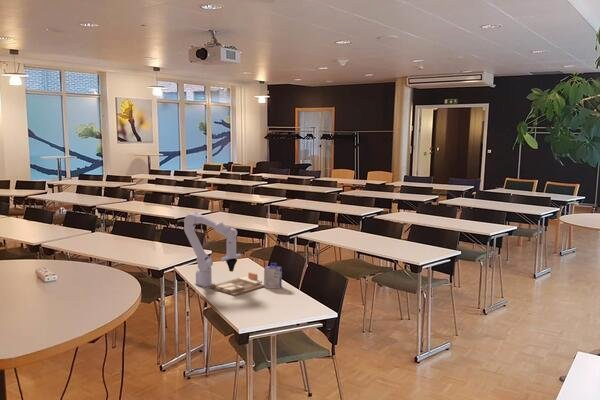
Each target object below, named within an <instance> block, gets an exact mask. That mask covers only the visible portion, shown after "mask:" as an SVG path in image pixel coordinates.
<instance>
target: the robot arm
mask: <svg viewBox="0 0 600 400" xmlns="http://www.w3.org/2000/svg"><path fill="white" fill-rule="evenodd" d="M183 223H184V224H183V225H184V227H183V230H184V234H185V235H186V237H187V239H188V241H189V244H190V246H191V247H192V250H193V252H194V255H195V256H196V264H197V268H198V269H197V270H196V272H195V282H194V285H197V286H200V287H203V288H206V287H209V286H213V285H216V284H215V283H214V282H212V278H213V277H212V266H213V265H214V261H213V260H212V258H211V257H210V256H209V254H207V253H206V252H205V250H204V248H203V246H202V244H201V241H200V239H199V237H198V236H197V233H196V231H195V228H196V225H199V224H202V225H205V226H208V227H210V228H213V229H214V231H215V233H218V234H220V235H223V236H225V238H226V255H225V256H222V257H221V258H220V261H221V262H225V263H226V264H227V267H228V271H229V272H234V270H235V266H236V264H237V262H238V259H239V258H242V254H241V253H237V235H238V230H237V229H236V228H235V227H231V226H228V225H225V224H224V222H215V221H213V220H212V219H209V218H208V217H206V216H204V215H203V214H201V213H198V212H196V211H195V212H192V213H190V214H187V215H185V217H184V219H183Z"/></svg>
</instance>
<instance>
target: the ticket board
mask: <svg viewBox="0 0 600 400" xmlns="http://www.w3.org/2000/svg"><path fill="white" fill-rule="evenodd" d="M239 278H240V277H237V278H234V279H230V280H228V281H224V282H220V283H217V284H214V285H210V286H208V287H209V289H211V290H214V291H217V292H220V293H222V294H227V295H230V296H233V297H238V296H241V295H244V294H247V293H249V292H253V291H256V290H258V289H261V288H264V284H262V283H260V284H257V285H254V284H250V283H247V282H243V281H240V280H239Z"/></svg>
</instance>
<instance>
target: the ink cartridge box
mask: <svg viewBox="0 0 600 400" xmlns="http://www.w3.org/2000/svg"><path fill="white" fill-rule="evenodd" d="M282 268H283V267H282V266H277V262H270V265H269V266H268V265H266V266H265V267H263V285H264V287H263V288H265V289H266V288H267V289H276V290H277V289H280V288H282V287H283V286H282V284H283V283H282V282H283V281H282V279H283V277H282V276H283V269H282Z"/></svg>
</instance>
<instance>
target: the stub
mask: <svg viewBox="0 0 600 400" xmlns="http://www.w3.org/2000/svg"><path fill="white" fill-rule="evenodd" d="M238 278H239V280H240V281H243V282H247V283H250V284H254V285H257V284H262V283H263V280H260V279H258V274H257V273H254V272H248V276H243V277H238Z"/></svg>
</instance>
